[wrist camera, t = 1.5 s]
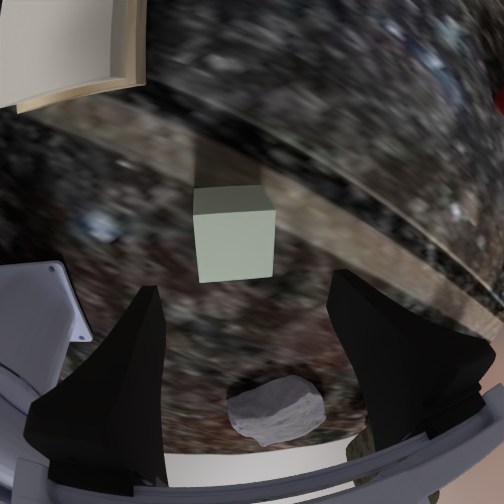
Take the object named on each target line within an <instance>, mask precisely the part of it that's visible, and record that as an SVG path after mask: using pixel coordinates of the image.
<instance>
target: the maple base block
mask: <svg viewBox="0 0 504 504" xmlns="http://www.w3.org/2000/svg"><path fill="white" fill-rule="evenodd" d="M146 10H147V0H128V10H127V26H126V55H125V78H124V79H117V80H111V81H106V82H101V83H96V84H91V85H86V86H82V87H77V88H73V89H69V90H65V91H61V92H57V93H54V94H50V95H47V96H43V97H40V98H37V99H34V100H31V101H28V102H25V103H20V104H17V114H18V113H22V112H26V111H30V110H34V109H39V108H42V107H45V106H49V105H52V104H56V103H59V102H63V101H67V100H70V99H74V98H78V97H83V96H87V95H91V94H96V93H101V92H106V91H111V90H116V89H122V88H128V87H135V86H141V85H146Z"/></svg>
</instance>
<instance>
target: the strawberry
mask: <svg viewBox="0 0 504 504" xmlns="http://www.w3.org/2000/svg"><path fill="white" fill-rule="evenodd" d="M494 102H495V105H496V107H497V108H498V110H499V111H500V112H501V113H502V114H503V116H504V87H503V88H502V89H501V91H500V92H499V93H497V94H496V95H495V97H494Z"/></svg>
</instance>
